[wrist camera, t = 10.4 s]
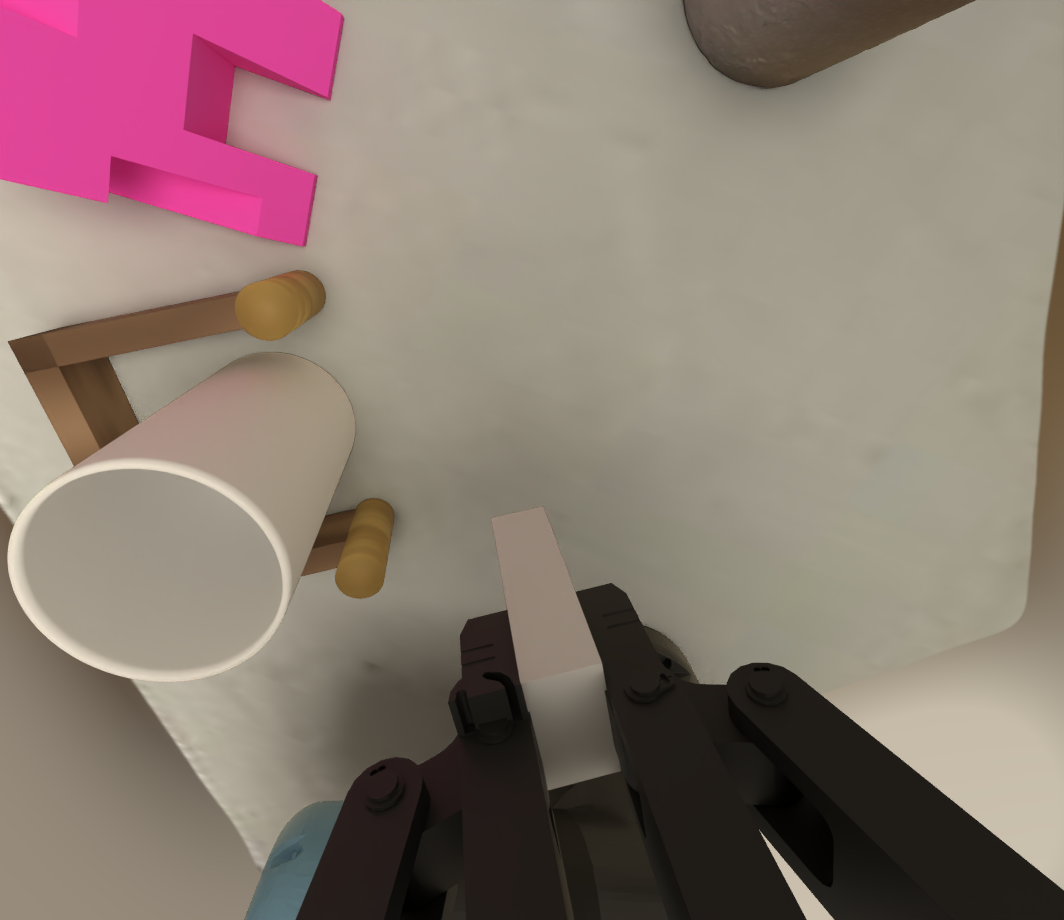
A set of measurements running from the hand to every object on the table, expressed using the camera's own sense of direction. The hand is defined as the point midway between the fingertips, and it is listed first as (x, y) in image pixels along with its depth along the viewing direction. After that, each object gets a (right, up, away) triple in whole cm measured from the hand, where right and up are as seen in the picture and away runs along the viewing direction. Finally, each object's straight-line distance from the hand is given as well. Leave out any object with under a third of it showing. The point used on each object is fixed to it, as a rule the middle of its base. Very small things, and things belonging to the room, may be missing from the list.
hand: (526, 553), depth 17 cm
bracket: (-16, +20, +11) cm, 27 cm away
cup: (-14, +5, +17) cm, 22 cm away
